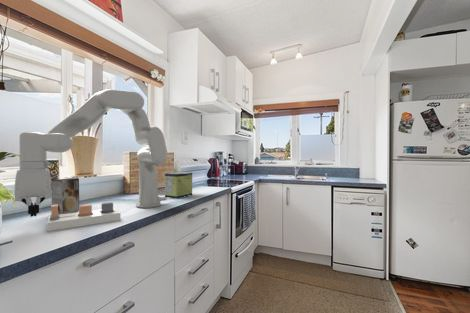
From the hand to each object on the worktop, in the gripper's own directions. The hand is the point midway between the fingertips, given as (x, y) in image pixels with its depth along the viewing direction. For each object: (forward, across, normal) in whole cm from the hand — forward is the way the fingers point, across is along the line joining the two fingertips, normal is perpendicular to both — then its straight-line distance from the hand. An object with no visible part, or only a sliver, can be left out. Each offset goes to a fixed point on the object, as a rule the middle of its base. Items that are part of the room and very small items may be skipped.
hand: (33, 215), depth 86 cm
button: (+3, -24, 0) cm, 24 cm away
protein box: (+5, -71, -32) cm, 78 cm away
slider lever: (+2, -6, 0) cm, 6 cm away
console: (+5, -16, 0) cm, 17 cm away
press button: (+3, -16, 0) cm, 16 cm away
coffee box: (+5, -10, -23) cm, 26 cm away
